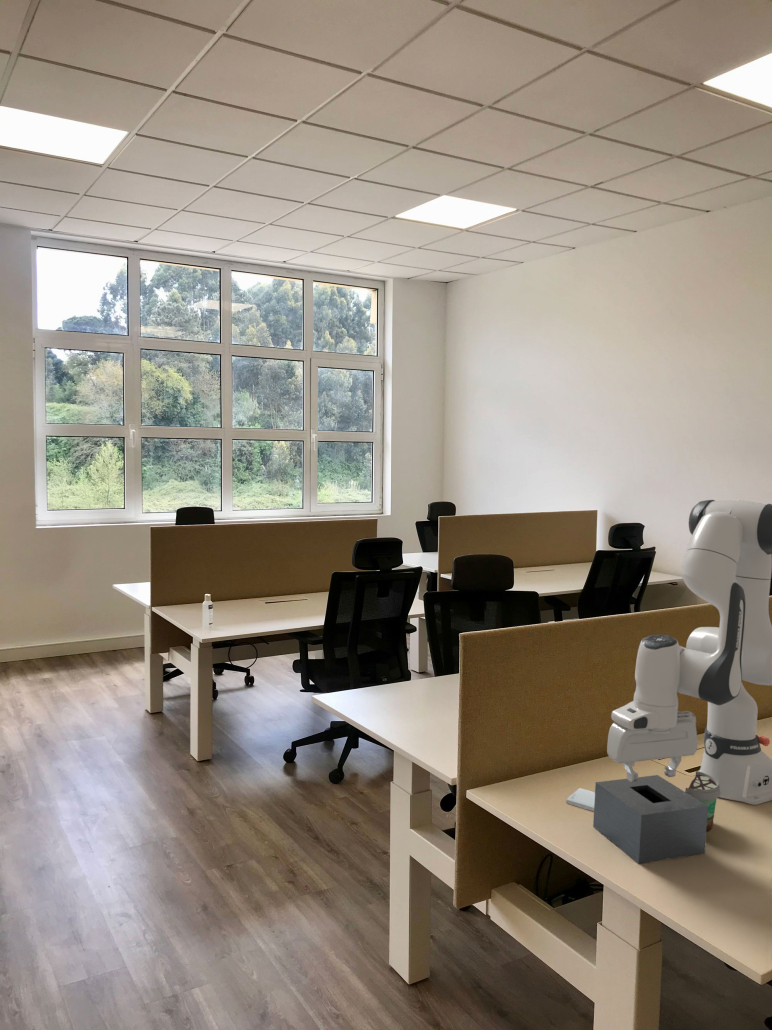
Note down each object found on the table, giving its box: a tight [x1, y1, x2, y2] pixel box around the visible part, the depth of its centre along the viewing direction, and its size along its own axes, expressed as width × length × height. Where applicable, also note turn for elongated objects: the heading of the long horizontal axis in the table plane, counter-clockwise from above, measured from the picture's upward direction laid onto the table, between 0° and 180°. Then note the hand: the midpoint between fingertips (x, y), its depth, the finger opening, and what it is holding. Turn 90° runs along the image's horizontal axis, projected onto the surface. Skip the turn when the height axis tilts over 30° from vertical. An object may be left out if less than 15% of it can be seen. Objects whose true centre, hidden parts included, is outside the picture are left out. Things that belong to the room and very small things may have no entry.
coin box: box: [592, 774, 708, 865], centre depth 166 cm, size 16×16×10 cm
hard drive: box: [565, 787, 595, 812], centre depth 183 cm, size 2×8×12 cm
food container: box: [684, 770, 721, 833], centre depth 173 cm, size 12×6×10 cm, turn 148°
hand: (651, 778), depth 166 cm, fingers open, 8 cm apart
